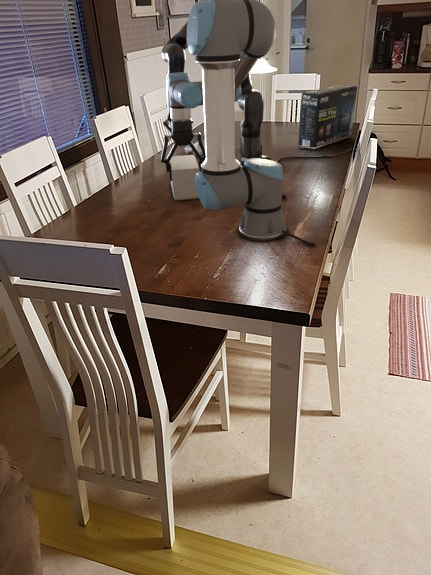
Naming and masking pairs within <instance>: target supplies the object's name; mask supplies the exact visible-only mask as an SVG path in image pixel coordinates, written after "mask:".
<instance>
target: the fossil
mask: <svg viewBox="0 0 431 575" xmlns="http://www.w3.org/2000/svg"><path fill="white" fill-rule="evenodd" d="M201 141H202V143H203V146H204V149H205V137H201ZM193 145H194V146H195V148H196V149H197V151H198V152H199V154H200V155H201V156H203V153H202V150H201V148H200V145H199V142H198V141H196V142H195V143H193ZM184 150H185V153H186V154H187V155H194V156H197V155H196V154H195V153H194V151H193V150H192V148H191V147H190V146H189V145H188V146H184ZM205 151H206V150H205Z"/></svg>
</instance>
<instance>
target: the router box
mask: <svg viewBox="0 0 431 575" xmlns="http://www.w3.org/2000/svg"><path fill="white" fill-rule="evenodd" d="M357 93H358V86H356V85H350V84H339V85H338V84H337V85H334V86H328V87H324V88H318V89H314V90H309V91H304V92H301V93H300V109H299V110H300V111H299V124H298V137H297V146H298V145H302V146H307V147H317V146H320V145H323V144H325V143H328V142H331V141H333V140H336V139H338V138H341V137H344V136H347V135H351V136H352V133H353V132H352V131H353V125H354V115H355V109H356V99H357ZM311 151H313V150H312V149H311Z"/></svg>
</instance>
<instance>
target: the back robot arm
mask: <svg viewBox="0 0 431 575" xmlns="http://www.w3.org/2000/svg"><path fill="white" fill-rule="evenodd" d="M187 24H188V20H187V21H186V22H185V23H184V25H183V26H182V27H181V28H180V29H179V30H178V32H176V33H175V34H174V35H173V36H172V37H170V38H169V40H167V42H166V43H165V44H163V46H162V48H161V58H162V60H163V62H165V63H166V64H168V71H167V72H166V75H165V84H166V104H167V106H166V107H167V116H166V119H165V120H163V121H162V124H163V126H164V127H165V128H166V129H167V131H168V132H169V133H170V135H171V134H172V126H170V124H171V121H172V119H171V113H170V100H169V89H168V75H169V74H171V73H179V72H183V73H185V70H186V69H185V68H186V52H185V51H186V50H187V49H188V43H187ZM250 73H251V71H250V72H249V73H248V75H247V76H246V78H245V79H244V81H243V82H242V83H241V95H240V99H239V100H238V101H236V103H237V105H238V108H239V109H241V110H242V111H243V120H241V122H240V123H239V126H240V127H239V128H240V130H239V132H240V133H239V135H240V139H239V140H240V141H239V142H240V144H239V145H240V149H239V150H240V164H241V167H243V166H244V163H245V160H248V159H252V158H259V159H267V160H272V161H273V159H272V158H271V157H269V156H267V155H263V144H262V124H263V121H264V109H265V100H264V96H263V94H262V92H260V91H259V90H255V89H254V87H253V83H252V80H251V74H250ZM191 120H192V125H193V124H194V120H193V119H192V118H191ZM352 151H353V152H357V150H356V149H355V148H354V150H352ZM320 156H321V157H302V156H284V157H285V158H282V157H280V158H279V159H277V160H276V161H275V162H277V163H279V162H280V161H282V160H289V159H290V160H291V159H294V160H295V159H302V160H303V159H325V158H332V157H334V156H332V157H331V156H327V155H320Z"/></svg>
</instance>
